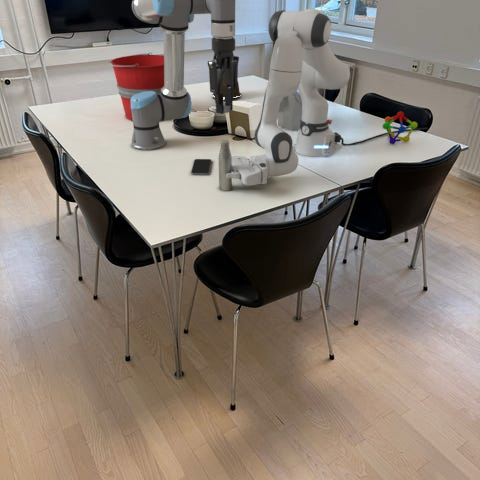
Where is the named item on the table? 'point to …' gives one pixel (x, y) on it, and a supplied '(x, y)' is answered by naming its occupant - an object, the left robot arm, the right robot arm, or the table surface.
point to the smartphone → (201, 166)
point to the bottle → (225, 166)
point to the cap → (226, 107)
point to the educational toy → (398, 128)
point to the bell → (235, 93)
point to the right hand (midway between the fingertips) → (223, 172)
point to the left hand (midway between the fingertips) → (224, 111)
